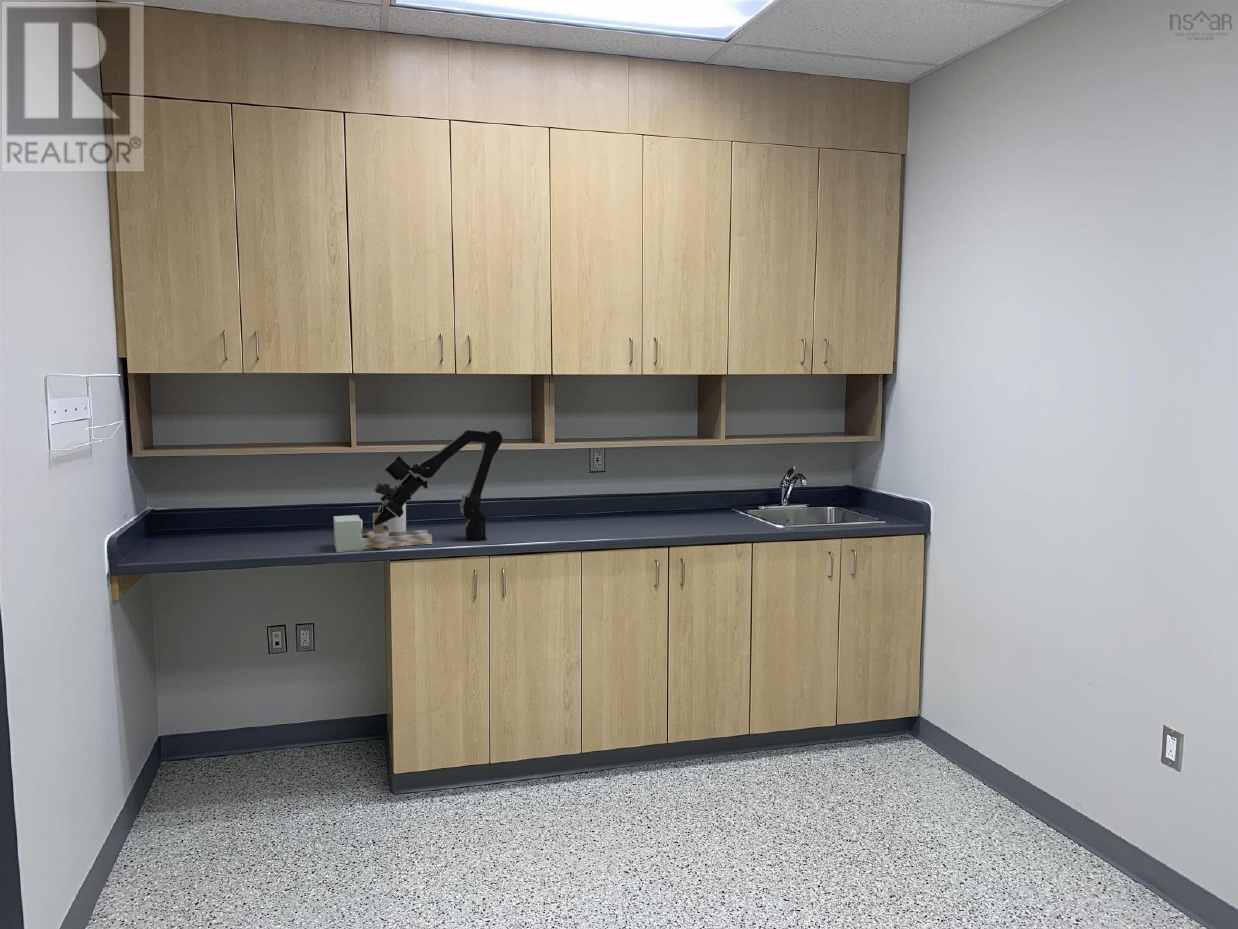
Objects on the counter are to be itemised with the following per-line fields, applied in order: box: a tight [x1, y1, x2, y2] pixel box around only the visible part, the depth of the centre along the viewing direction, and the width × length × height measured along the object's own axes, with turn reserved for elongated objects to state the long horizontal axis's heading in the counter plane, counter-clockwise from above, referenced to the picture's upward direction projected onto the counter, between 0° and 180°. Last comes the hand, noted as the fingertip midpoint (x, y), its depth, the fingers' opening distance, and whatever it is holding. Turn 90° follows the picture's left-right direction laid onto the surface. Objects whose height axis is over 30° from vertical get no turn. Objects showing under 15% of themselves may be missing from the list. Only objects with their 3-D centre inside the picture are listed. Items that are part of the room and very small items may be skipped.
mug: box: [377, 502, 407, 532], centre depth 304 cm, size 10×7×12 cm, turn 102°
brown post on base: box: [367, 512, 389, 538], centre depth 282 cm, size 6×6×9 cm
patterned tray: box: [361, 529, 433, 551], centre depth 285 cm, size 23×10×4 cm, turn 112°
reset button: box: [362, 532, 370, 538], centre depth 280 cm, size 6×5×3 cm
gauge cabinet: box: [333, 514, 363, 553], centre depth 279 cm, size 8×12×10 cm
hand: (373, 523), depth 281 cm, fingers closed on brown post on base, 3 cm apart
